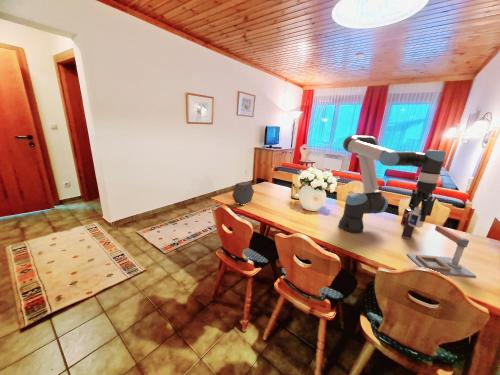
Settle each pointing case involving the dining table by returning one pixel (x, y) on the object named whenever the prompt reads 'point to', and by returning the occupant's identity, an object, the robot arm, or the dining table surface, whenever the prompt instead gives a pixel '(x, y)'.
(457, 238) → the bar
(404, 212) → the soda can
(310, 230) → the dining table surface
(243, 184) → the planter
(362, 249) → the dining table surface
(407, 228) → the supplement box
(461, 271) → the latch board
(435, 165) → the robot arm
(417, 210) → the pill bottle
